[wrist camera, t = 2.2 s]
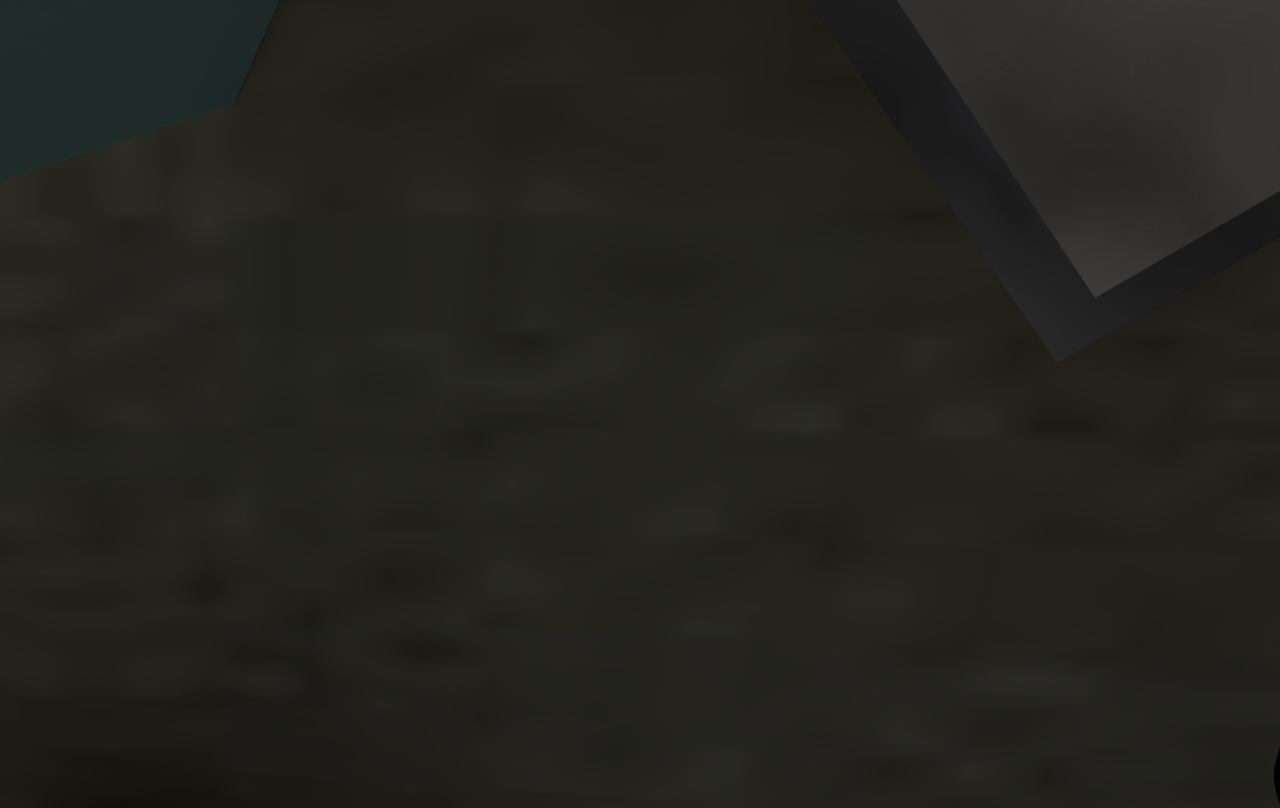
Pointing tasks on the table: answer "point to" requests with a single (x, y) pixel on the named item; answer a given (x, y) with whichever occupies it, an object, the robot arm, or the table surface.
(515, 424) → the table surface
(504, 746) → the table surface
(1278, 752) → the robot arm
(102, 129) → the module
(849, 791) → the table surface
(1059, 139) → the chassis
